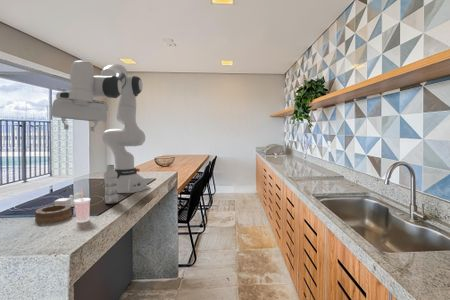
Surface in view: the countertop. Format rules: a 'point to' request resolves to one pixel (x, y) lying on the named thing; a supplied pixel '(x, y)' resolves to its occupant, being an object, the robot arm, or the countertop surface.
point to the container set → (68, 200)
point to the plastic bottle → (110, 185)
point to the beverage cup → (82, 209)
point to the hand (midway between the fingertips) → (79, 130)
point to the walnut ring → (53, 213)
